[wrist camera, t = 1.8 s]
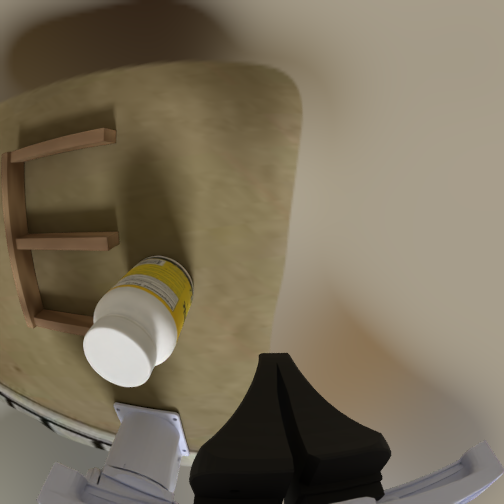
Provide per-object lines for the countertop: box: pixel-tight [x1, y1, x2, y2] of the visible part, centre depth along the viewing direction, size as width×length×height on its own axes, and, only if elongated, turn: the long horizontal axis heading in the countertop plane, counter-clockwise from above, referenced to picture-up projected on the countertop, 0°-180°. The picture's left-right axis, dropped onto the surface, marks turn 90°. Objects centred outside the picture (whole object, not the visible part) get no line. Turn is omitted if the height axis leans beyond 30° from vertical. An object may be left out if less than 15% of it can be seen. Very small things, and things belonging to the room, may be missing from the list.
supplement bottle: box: [83, 256, 194, 387], centre depth 17 cm, size 5×5×10 cm
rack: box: [1, 128, 119, 336], centre depth 19 cm, size 17×12×2 cm
